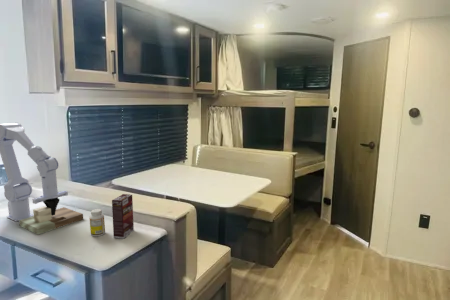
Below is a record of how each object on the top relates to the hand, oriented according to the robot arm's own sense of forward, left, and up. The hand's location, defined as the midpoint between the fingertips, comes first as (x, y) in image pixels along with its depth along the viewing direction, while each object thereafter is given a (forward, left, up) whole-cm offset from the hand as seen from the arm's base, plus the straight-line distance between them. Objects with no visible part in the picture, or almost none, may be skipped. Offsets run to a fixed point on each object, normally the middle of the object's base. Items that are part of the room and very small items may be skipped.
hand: (52, 214), depth 141 cm
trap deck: (0, 0, -3) cm, 4 cm away
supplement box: (+37, +10, -4) cm, 38 cm away
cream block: (0, -4, -1) cm, 4 cm away
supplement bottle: (+28, +4, -4) cm, 28 cm away
